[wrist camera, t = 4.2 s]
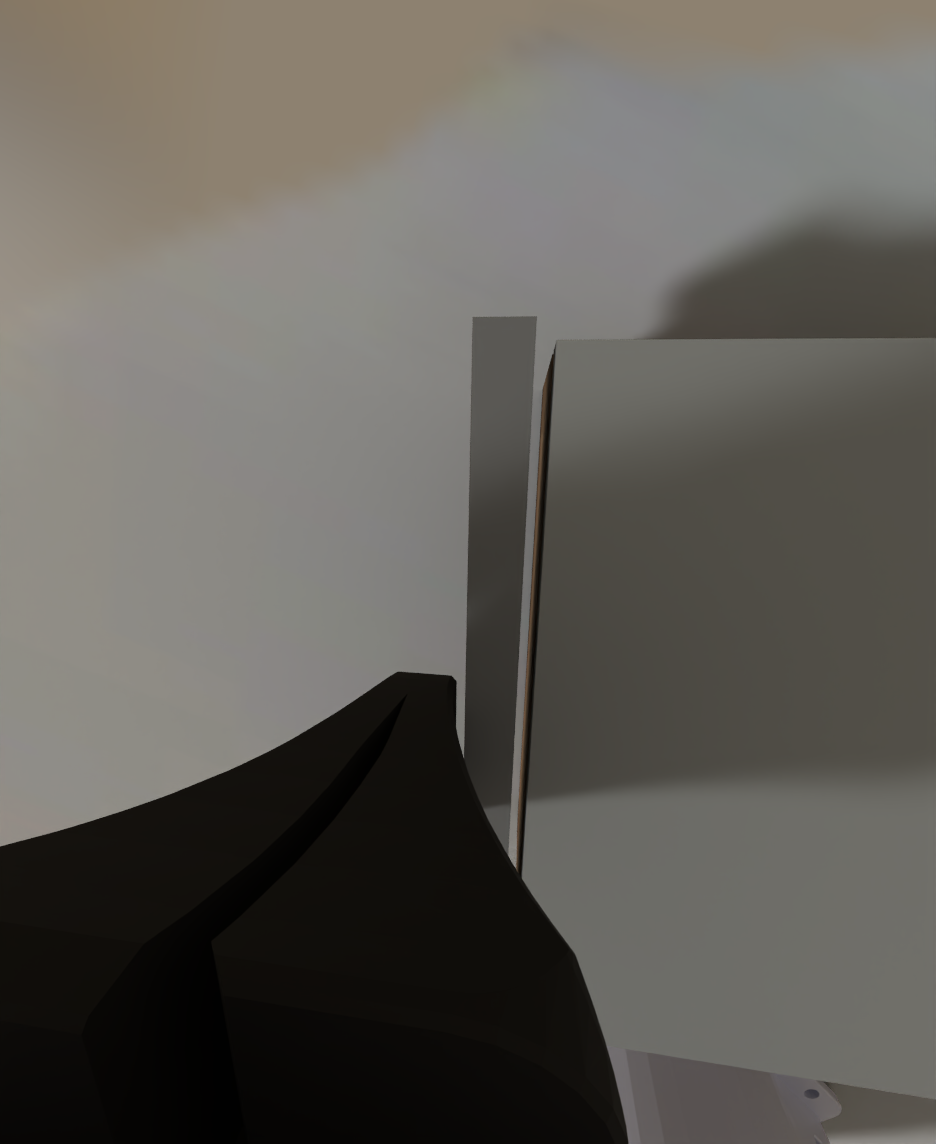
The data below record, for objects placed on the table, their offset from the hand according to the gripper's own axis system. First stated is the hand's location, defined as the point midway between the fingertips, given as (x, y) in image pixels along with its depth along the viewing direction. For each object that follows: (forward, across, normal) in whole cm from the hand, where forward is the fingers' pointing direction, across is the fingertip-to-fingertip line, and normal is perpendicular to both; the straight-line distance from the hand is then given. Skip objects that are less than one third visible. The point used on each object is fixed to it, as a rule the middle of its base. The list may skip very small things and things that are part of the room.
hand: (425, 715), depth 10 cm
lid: (+1, -8, 0) cm, 8 cm away
